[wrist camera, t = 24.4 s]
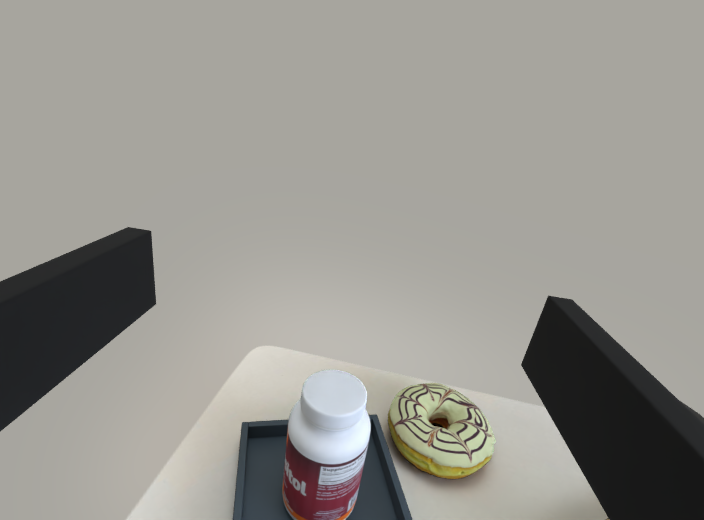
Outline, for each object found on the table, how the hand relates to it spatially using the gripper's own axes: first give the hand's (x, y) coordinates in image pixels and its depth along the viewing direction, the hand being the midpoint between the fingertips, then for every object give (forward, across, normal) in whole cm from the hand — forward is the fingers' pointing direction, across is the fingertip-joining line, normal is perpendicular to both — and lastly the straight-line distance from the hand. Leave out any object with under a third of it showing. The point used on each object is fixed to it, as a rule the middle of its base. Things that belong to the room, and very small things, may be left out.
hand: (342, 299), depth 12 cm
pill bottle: (+10, 0, -24) cm, 26 cm away
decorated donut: (+18, +11, -24) cm, 32 cm away
